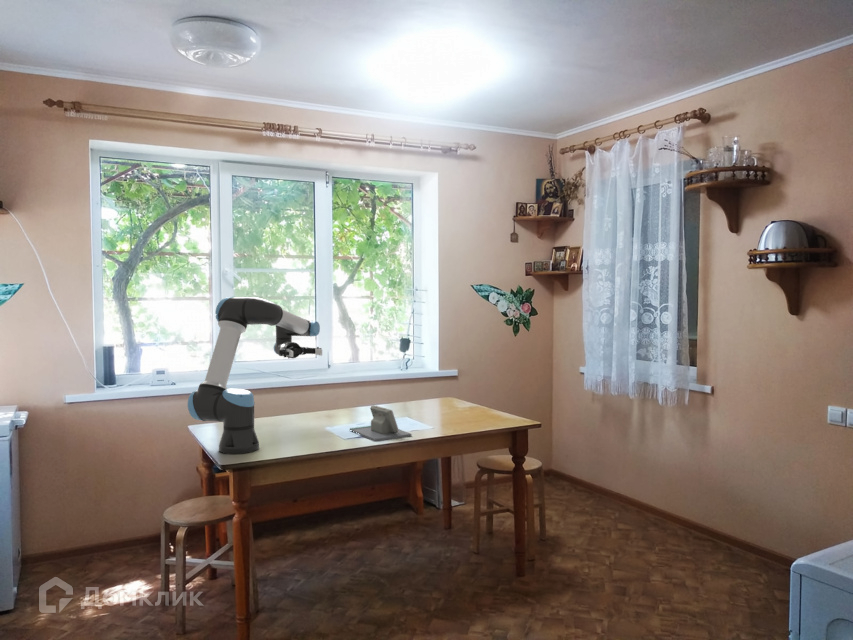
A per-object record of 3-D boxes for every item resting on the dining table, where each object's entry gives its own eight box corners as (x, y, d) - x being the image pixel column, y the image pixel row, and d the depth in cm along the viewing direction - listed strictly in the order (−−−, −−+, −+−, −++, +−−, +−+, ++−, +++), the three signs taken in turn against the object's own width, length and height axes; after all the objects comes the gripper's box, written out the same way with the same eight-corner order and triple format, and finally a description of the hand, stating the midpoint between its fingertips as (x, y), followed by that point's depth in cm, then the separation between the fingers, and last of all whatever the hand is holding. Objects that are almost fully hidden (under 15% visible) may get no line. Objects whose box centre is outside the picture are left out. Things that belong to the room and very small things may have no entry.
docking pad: (374, 441, 249) (374, 438, 249) (349, 430, 270) (349, 427, 270) (411, 436, 259) (411, 433, 259) (384, 426, 279) (384, 423, 279)
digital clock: (399, 433, 259) (399, 409, 259) (380, 435, 256) (380, 410, 255) (386, 426, 274) (386, 403, 274) (367, 428, 270) (367, 404, 270)
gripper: (315, 356, 293) (333, 360, 275) (264, 359, 279) (280, 363, 262) (315, 341, 293) (333, 343, 275) (264, 343, 279) (279, 346, 261)
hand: (307, 353), depth 268 cm, fingers open, 13 cm apart
